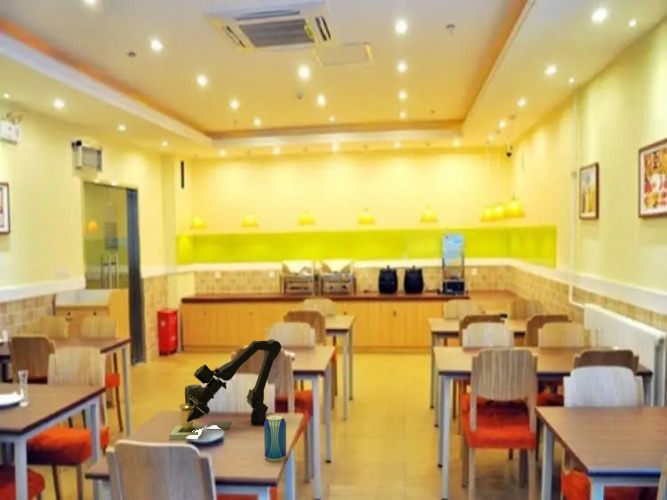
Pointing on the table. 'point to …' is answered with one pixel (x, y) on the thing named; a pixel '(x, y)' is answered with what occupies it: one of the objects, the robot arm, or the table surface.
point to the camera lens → (187, 394)
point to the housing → (179, 435)
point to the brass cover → (186, 417)
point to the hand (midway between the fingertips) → (185, 418)
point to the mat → (221, 424)
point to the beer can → (275, 438)
